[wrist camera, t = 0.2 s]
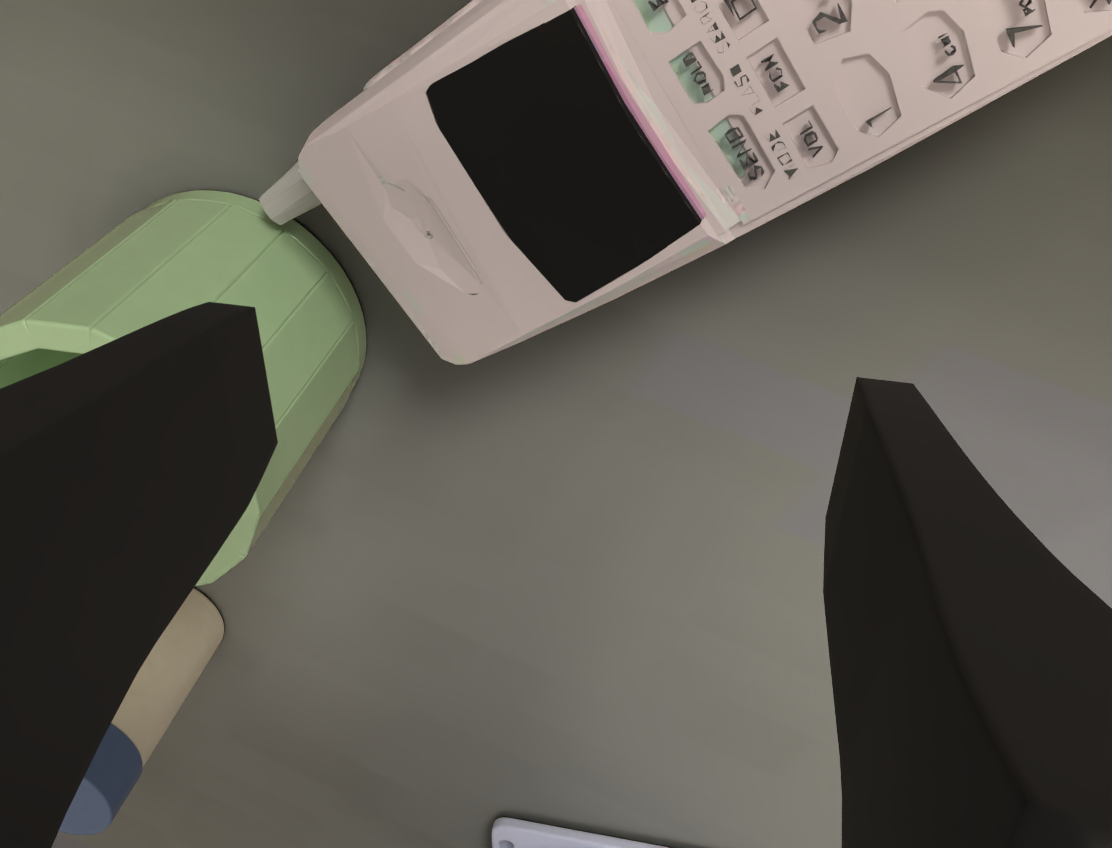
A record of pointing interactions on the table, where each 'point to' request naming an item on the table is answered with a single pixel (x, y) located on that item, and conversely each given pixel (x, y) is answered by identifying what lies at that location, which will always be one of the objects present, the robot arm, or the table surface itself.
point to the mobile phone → (637, 138)
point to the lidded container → (145, 714)
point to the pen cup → (199, 277)
